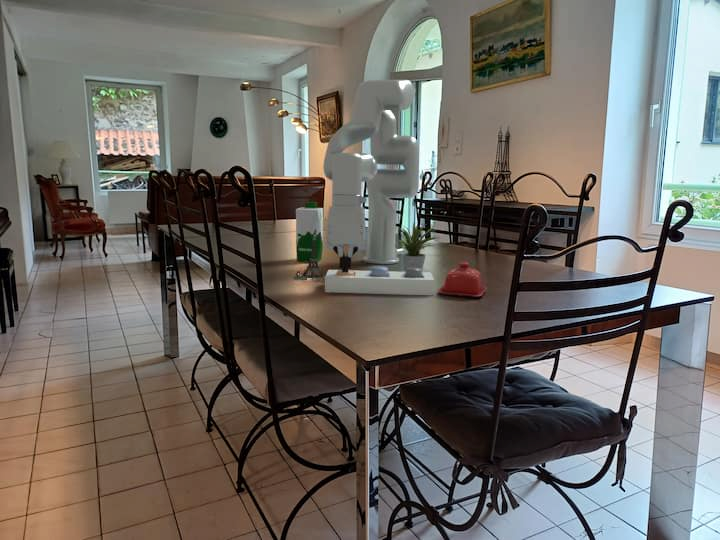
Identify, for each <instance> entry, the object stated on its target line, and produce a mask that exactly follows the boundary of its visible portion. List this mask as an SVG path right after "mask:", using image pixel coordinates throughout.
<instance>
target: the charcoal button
mask: <svg viewBox="0 0 720 540" xmlns="http://www.w3.org/2000/svg"><path fill="white" fill-rule="evenodd" d="M422 272H423V270H422V269H421V268H415V267H409V268H405V277H410V278H422Z"/></svg>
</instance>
